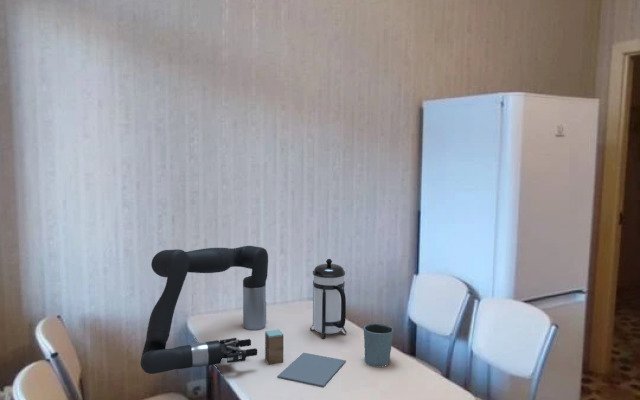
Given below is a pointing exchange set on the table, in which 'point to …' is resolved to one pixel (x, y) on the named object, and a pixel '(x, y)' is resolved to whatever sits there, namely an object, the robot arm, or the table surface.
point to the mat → (312, 369)
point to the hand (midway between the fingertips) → (253, 346)
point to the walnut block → (274, 346)
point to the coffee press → (329, 299)
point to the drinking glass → (377, 344)
